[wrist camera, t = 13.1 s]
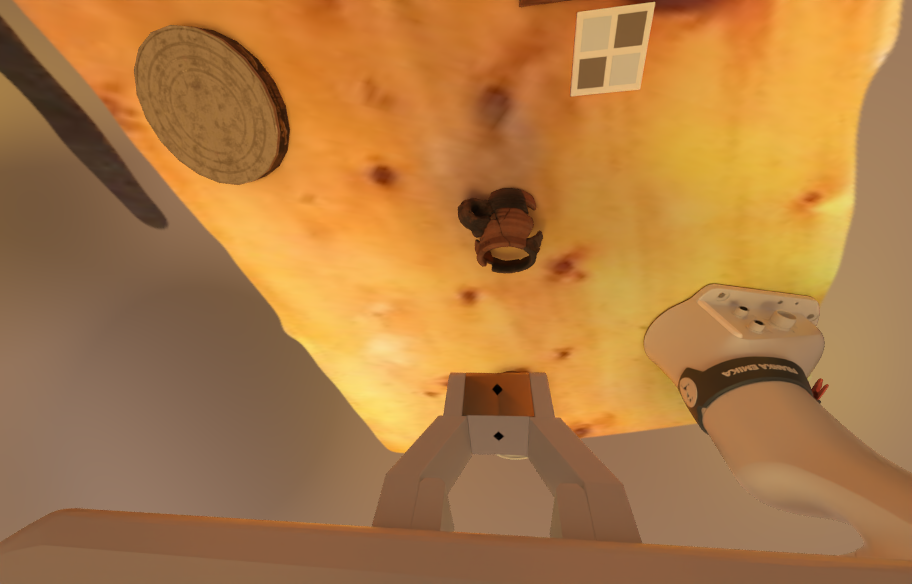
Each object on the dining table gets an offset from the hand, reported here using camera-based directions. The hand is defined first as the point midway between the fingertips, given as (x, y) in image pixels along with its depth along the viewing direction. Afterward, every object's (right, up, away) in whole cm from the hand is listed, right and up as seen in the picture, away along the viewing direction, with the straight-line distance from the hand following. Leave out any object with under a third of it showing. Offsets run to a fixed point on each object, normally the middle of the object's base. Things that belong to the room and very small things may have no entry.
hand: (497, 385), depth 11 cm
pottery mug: (+4, +13, +34) cm, 36 cm away
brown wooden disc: (-29, +25, +30) cm, 49 cm away
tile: (+14, +27, +23) cm, 38 cm away
